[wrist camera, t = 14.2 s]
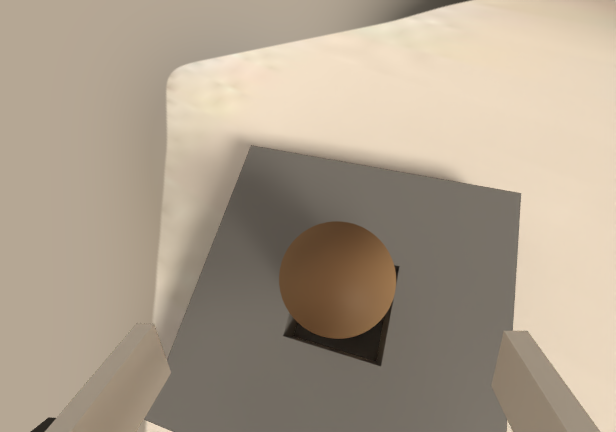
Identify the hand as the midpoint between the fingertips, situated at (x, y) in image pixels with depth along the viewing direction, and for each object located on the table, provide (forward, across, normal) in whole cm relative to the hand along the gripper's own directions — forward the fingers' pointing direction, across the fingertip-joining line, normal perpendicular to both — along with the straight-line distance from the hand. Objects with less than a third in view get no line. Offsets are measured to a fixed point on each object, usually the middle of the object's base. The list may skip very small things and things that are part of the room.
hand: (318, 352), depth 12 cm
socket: (+10, +1, -6) cm, 12 cm away
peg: (+10, +1, -6) cm, 12 cm away
